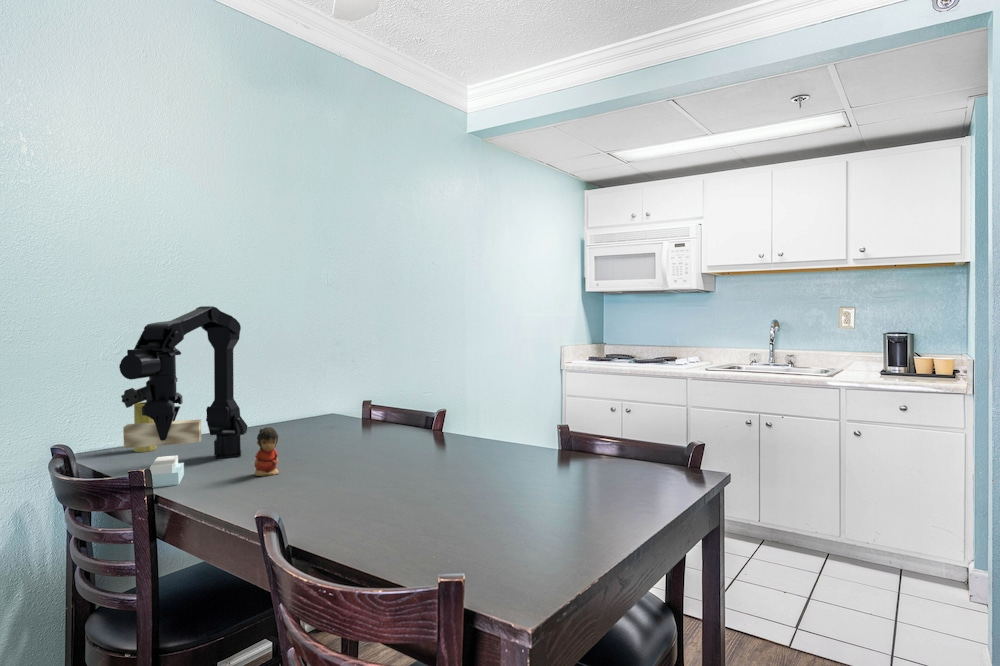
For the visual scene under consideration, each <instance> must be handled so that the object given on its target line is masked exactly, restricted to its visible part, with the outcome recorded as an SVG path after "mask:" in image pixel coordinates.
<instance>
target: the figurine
mask: <svg viewBox="0 0 1000 666" xmlns="http://www.w3.org/2000/svg"><path fill="white" fill-rule="evenodd" d="M258 432H259V433H258V434H257V437H256V439H257V441H256V444H257V445H258V446H259V447H260V448H259V450H258V451H257V453H256V455H255V456H254V457H255V458H256V459H255V460H254V468H255V471H254V476H257V477H267V476H270V477H271V476H276V475H279V474H280V473H279V470H278V469H277V464H278V463H279V459H278V455H279V454H278V452H277V450H276V447H277V445H278V444H277V443H278V442H279V435H278V432H277V431H276V429H275V428H274V427H271V426H266V427H264V428H260V429H259V431H258Z"/></svg>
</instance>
